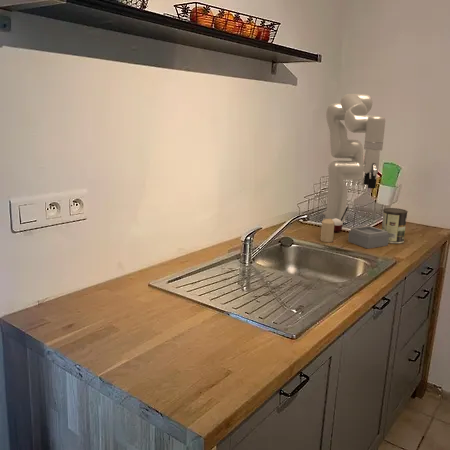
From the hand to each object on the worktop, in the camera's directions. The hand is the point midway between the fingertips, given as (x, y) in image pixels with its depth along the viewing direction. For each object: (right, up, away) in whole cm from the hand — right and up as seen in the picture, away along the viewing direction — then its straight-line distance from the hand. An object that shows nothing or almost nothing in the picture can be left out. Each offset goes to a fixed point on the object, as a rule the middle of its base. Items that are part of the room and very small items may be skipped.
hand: (369, 186), depth 215 cm
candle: (-17, -24, +8) cm, 30 cm away
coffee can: (+13, -24, +11) cm, 30 cm away
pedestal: (+1, -25, +5) cm, 25 cm away
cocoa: (-9, -20, +24) cm, 33 cm away
